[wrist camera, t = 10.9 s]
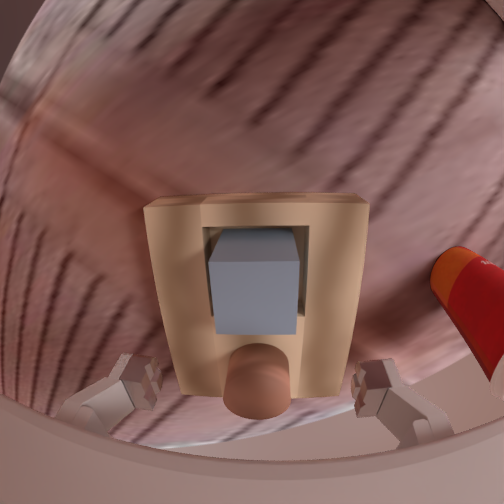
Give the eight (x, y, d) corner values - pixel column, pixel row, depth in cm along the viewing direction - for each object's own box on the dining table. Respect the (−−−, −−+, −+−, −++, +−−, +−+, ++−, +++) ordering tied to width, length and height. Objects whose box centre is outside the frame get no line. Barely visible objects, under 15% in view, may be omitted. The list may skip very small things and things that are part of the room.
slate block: (291, 228, 22) (299, 261, 16) (290, 288, 24) (296, 334, 18) (223, 228, 22) (208, 261, 16) (227, 288, 24) (216, 333, 18)
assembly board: (355, 193, 21) (392, 220, 14) (333, 371, 28) (345, 428, 21) (160, 196, 22) (116, 224, 15) (188, 370, 29) (172, 425, 22)
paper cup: (481, 289, 24) (558, 372, 11) (424, 319, 25) (488, 424, 12) (478, 222, 21) (583, 292, 8) (414, 252, 23) (509, 354, 10)
